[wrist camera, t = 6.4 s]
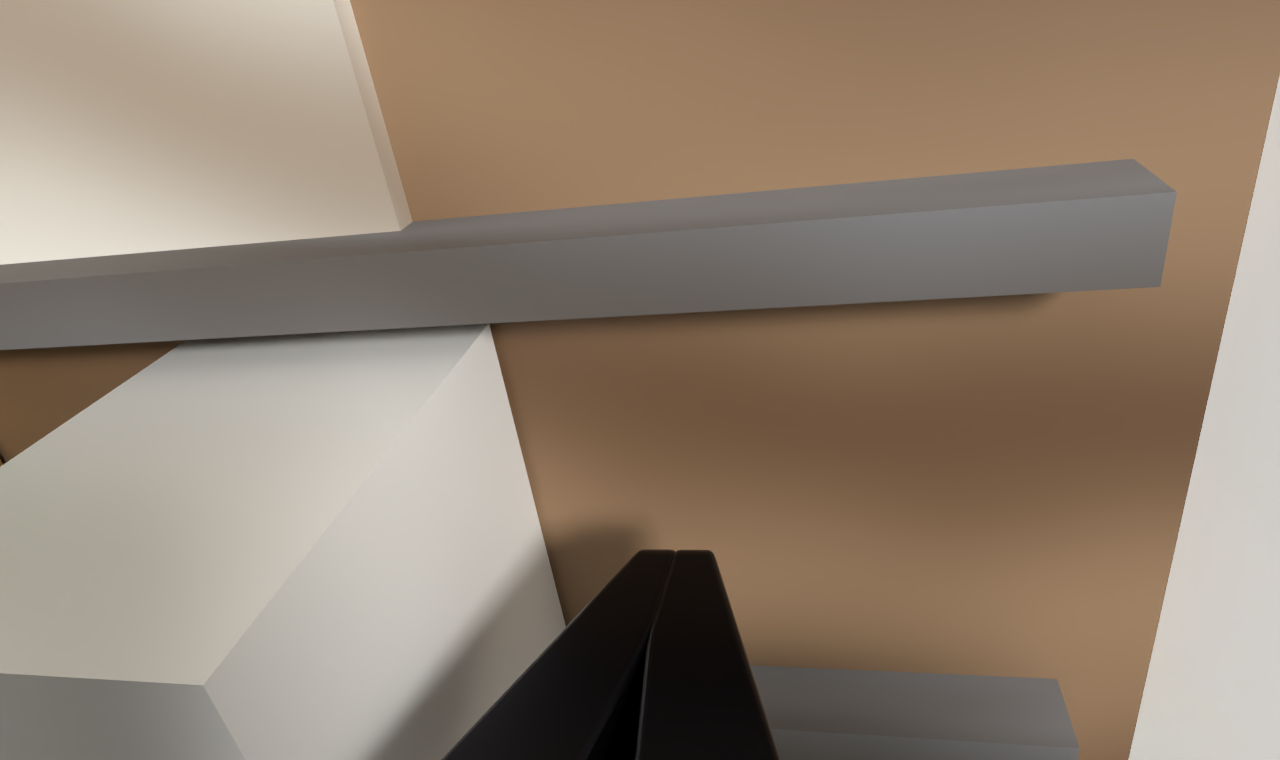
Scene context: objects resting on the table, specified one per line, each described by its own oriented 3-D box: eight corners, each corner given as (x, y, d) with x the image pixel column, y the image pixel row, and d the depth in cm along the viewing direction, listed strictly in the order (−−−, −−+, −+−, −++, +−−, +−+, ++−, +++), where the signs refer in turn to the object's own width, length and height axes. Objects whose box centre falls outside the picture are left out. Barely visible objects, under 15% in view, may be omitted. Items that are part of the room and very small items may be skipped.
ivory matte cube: (569, 642, 11) (426, 1075, 7) (208, 628, 13) (-94, 985, 9) (489, 322, 9) (202, 686, 5) (55, 346, 10) (-466, 644, 6)
